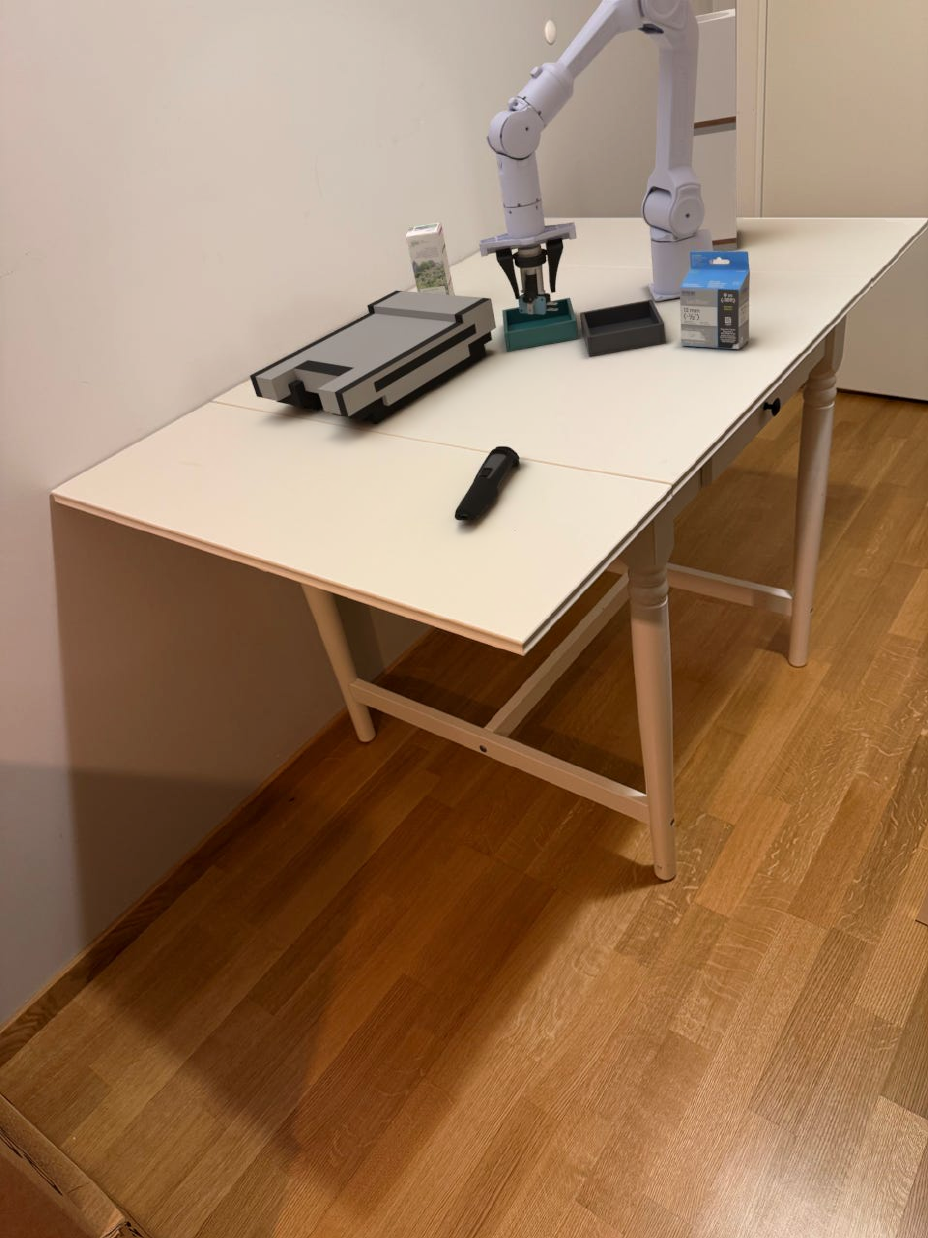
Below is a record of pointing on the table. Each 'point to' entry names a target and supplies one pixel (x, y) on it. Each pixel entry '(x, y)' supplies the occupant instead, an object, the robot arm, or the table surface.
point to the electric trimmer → (486, 483)
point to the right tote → (622, 327)
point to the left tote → (539, 326)
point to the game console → (383, 356)
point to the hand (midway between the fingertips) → (535, 293)
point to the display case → (716, 127)
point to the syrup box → (429, 259)
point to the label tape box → (716, 300)
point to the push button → (532, 280)
